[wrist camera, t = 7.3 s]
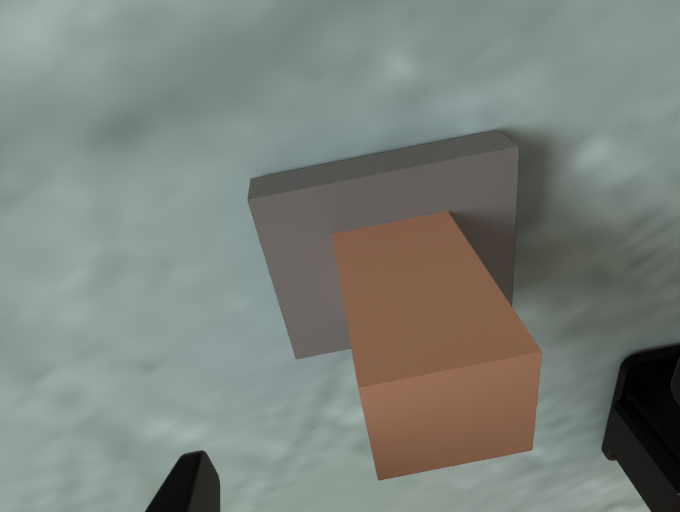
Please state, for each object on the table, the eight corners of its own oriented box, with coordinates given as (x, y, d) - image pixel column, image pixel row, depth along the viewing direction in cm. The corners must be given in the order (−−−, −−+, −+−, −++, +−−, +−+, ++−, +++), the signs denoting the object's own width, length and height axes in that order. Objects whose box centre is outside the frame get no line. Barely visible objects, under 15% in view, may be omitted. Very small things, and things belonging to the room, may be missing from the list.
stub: (497, 129, 13) (668, 260, 7) (494, 290, 16) (613, 473, 10) (250, 178, 13) (224, 348, 7) (294, 330, 16) (301, 534, 10)
